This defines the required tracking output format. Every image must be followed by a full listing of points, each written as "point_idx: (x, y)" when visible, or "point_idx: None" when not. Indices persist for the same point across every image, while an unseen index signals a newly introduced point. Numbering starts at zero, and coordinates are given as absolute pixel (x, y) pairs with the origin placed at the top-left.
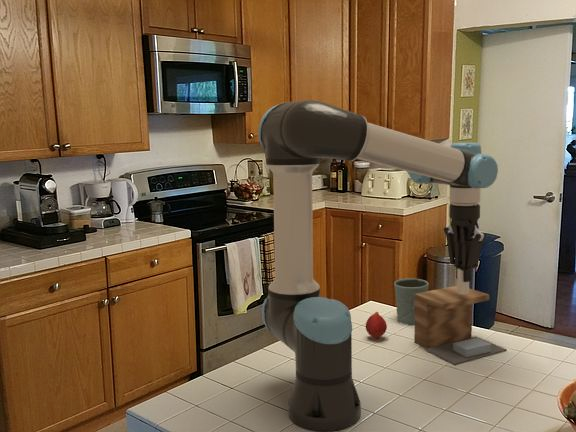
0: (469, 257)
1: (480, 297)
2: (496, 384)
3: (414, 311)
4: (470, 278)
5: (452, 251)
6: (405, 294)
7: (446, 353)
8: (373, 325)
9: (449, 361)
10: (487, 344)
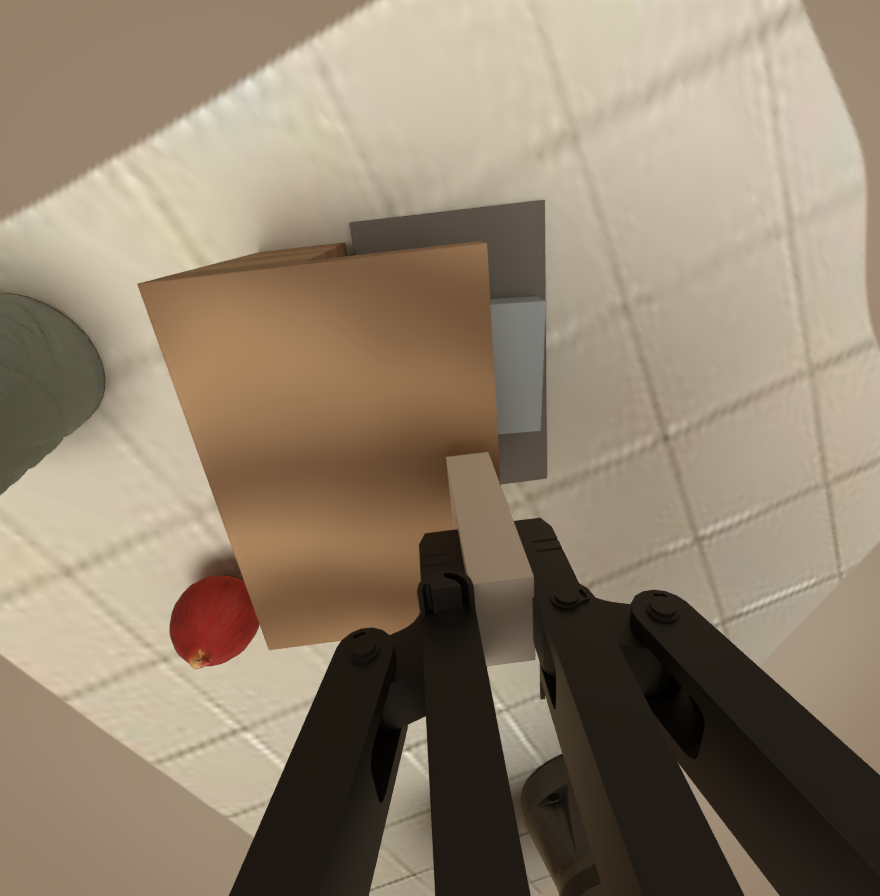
0: (722, 805)
1: (491, 339)
2: (717, 444)
3: (67, 416)
4: (556, 537)
5: (372, 870)
6: None
7: None
8: (244, 649)
9: (522, 480)
10: (542, 319)
